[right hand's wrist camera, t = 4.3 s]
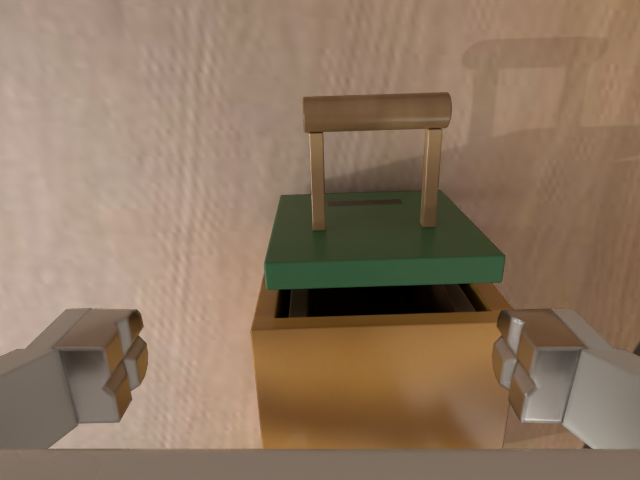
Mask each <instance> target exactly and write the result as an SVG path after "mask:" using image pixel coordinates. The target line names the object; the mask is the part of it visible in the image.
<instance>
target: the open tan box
mask: <svg viewBox="0 0 640 480" xmlns="http://www.w3.org/2000/svg"><path fill="white" fill-rule="evenodd" d="M459 286H460V287H461V289H462V290H463V292H464V294H465V295H466V297H467V298H468V300H469V301H470V303H471V304H472V306H473V307H474V309H475V311H476V312H452V313H421V314H390V315H359V316H328V317H297V318H288V316H289V306H290V295H291V289H282V290H267V289H266V284H265V272H264V276H263V280H262V284H261V288H260V293H259V297H258V301H257V305H256V310H255V314H254V318H253V322H252V327H251V341H252V351H253V361H254V370H255V380H256V390H257V400H258V409H259V419H260V429H261V438H262V448H263V449H502V448H503V442H504V436H505V430H506V424H507V418H508V412H509V406H510V402H509V401H508V396H509V391H508V390H507V389H505V388H503V387H502V386H500V384H499V383H498V381H497V379H496V377H495V374H494V370H493V364H492V351H493V344H494V342H495V341H496V340H497V339H498V338H499V337H500V336H501V335H502V334H501V333H500V331H499V330H498V328H497V327H496V326H497V321H498V316H499V314H500V312H501V310H513V308H512V307H511V306H510V305H509V303H508V302H507V301H506V300H505V298H504V297H503V296H502V295H501V293H500V292H499V291H498V290H497V289H496V287H495V286H494V285H493V284H492V283H468V284H459Z"/></svg>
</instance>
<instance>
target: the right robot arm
mask: <svg viewBox="0 0 640 480" xmlns="http://www.w3.org/2000/svg"><path fill="white" fill-rule="evenodd" d="M143 327H144V326H143V321H142V317H141V313H140V312H139V311H138V310H137V309H91V308H77V309H66V310H65V311H64V312H63V313H62V314H61V315H60V316H59V317H58V318H57V319H56V320H55V321H54V322H53V323H52V324H50V325H49V326H48V327H47V328H46V329H45V330H44V331H43V332H42V333H41V334H40V335H39V336H38V337H37V338H36V339H35V340H34V341H33V342H32V343H31V344H30V345H29V346H28V347H27V348H25V349H16V350H14V351H12V352H9V353H7V354H5V355H2V356H0V480H640V356H638V355H635V354H633V353H631V352H628V351H626V350H624V349H615V348H614V347H612V346H611V345H610V344H609V343H608V342H607V341H606V340H605V339H604V338H603V337H602V336H601V335H600V334H599V333H598V332H597V331H596V330H595V329H594V328H593V327H592V326H591V325H590V324H589V323H588V322H587V321H585V320H584V319H583V318H582V317H581V316H580V315H579V314H578V313H577V312H576V311H575V310H573V309H570V308H558V309H518V310H501V312H500V314H499V316H498V321H497V326H496V327H497V328H498V330H499V331H500V333H501V334H502V335H501V336H500V337H499V338H498V339H497V340H496V341H495V342H494V344H493V351H492V364H493V370H494V374H495V377H496V379H497V381H498V383H499V384H500V386H502V387H503V388H505V389H507V390H508V391H509V396H508V401H509V402H510V404H511V406H512V408H513V409H514V411H515V413H516V415H517V416H518V418H519V420H520V422H525V423H562V426H564V427H565V428H566V429H568V430H569V431H570V432H571V433H573V434H574V435H575V436H577V437H578V438H579V439H581V440H582V441H583V442H584V443H586V444H587V445H588V446H590V447H591V448H592V449H48V448H49V447H50V446H52V445H53V444H54V443H56V442H57V441H58V440H60V439H61V438H62V437H63V436H65V435H66V434H67V433H69V432H70V431H71V430H73V429H74V428H75V427H77V426H78V423H114V422H120V420H121V418H122V417H123V415H124V413H125V411H126V409H127V408H128V406H129V404H130V402H131V401H132V396H131V391H132V390H133V389H135V388H137V387H138V386H140V384H141V383H142V381H143V379H144V377H145V374H146V369H147V365H148V350H147V344H146V342H145V341H144V340H143V339H142V338H141V337H140V336H139V335H138V334H139V333H140V331H141V330H142V328H143Z"/></svg>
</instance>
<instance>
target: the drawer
mask: <svg viewBox="0 0 640 480" xmlns="http://www.w3.org/2000/svg"><path fill="white" fill-rule="evenodd" d="M451 112H452V103H451V97H450V94H449V93H447V92H440V93H409V94H377V95H346V96H314V97H303V123H304V132H305V133H308V132H309V148H310V174H311V194H302V195H281V197H280V201H279V205H278V209H277V213H276V217H275V221H274V225H273V229H272V233H271V237H270V241H269V246H268V250H267V254H266V258H265V262H264V272H265V284H266V289H267V290H282V289H291V295H290V306H289V316H288V318H297V317H328V316H359V315H390V314H421V313H452V312H476V311H475V309H474V307H473V306H472V304H471V303H470V301H469V300H468V298H467V297H466V295H465V294H464V292H463V290H462V289H461V287H460V286H459V284H468V283H499V282H502V278H503V270H504V263H505V255H504V254H503V253H502V252H501V251H500V250H499V249H498V248H497V247H496V246H495V245H494V244H493V243H492V242H491V241H490V240H489V239H488V238H487V237H486V236H485V235H484V234H483V233H482V232H481V230H480V229H479V228H478V227H477V226H476V225H475V224H474V223H473V222H472V221H471V220H470V219H469V218H468V217H467V216H466V215H465V214H464V213H463V212H462V211H461V210H460V209H459V208H458V207H457V206H456V205H455V204H454V203H453V202H452V201H451V200H450V199H449V198H448V197H447V196H446V195H445V194H444V193H443V192H442V191H441V190H438V185H439V171H440V157H441V143H442V129H441V128H447V127H448V125H449V123H450V119H451ZM403 129H425V145H424V162H423V180H422V191H395V192H364V193H333V194H325V180H324V142H323V132H340V131H371V130H403Z"/></svg>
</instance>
